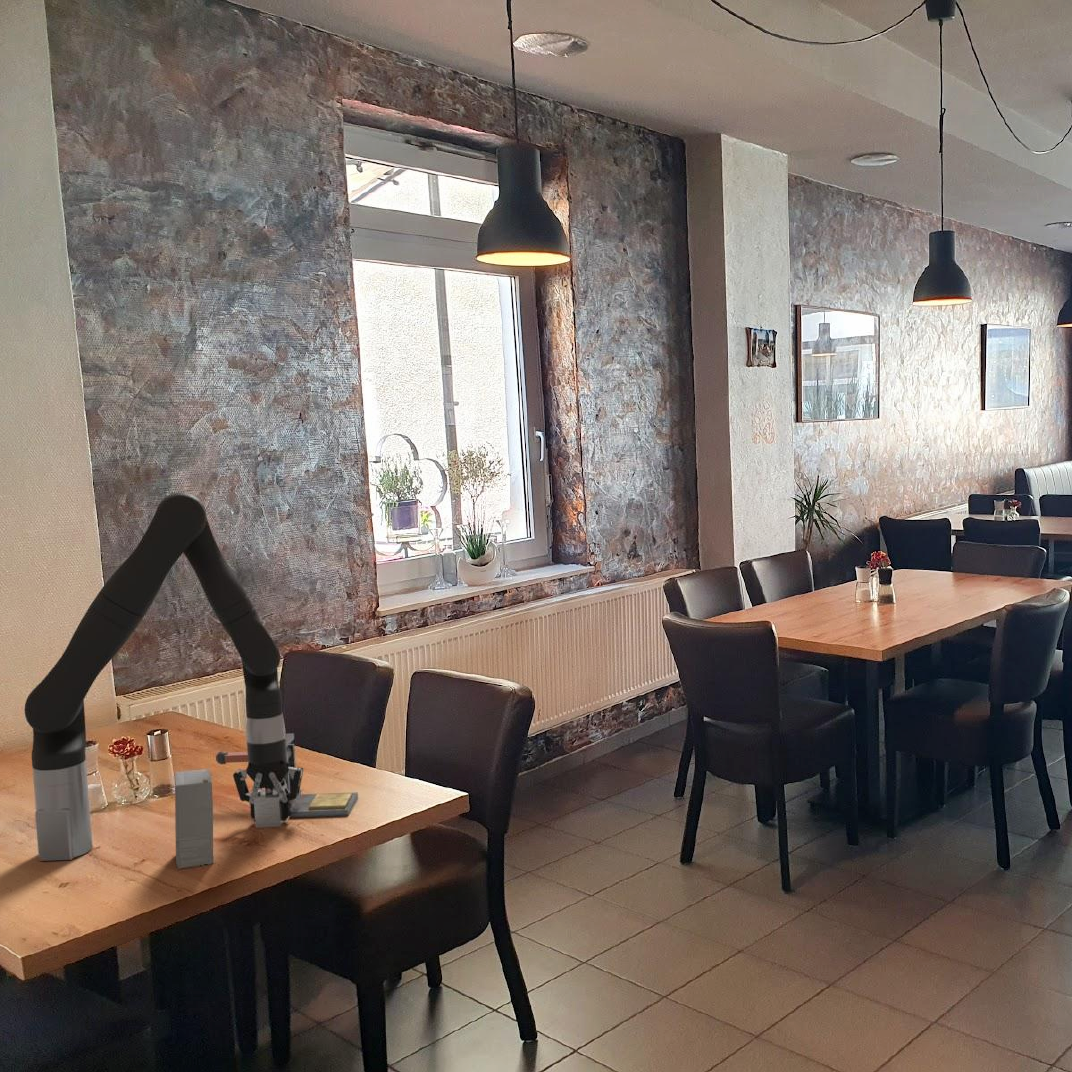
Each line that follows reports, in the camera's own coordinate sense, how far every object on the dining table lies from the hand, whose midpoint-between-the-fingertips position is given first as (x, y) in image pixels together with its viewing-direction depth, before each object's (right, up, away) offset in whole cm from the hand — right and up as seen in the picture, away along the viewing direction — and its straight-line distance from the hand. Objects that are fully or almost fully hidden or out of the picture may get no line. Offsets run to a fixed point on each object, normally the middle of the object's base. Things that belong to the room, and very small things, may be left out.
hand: (271, 819), depth 210 cm
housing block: (0, -1, 0) cm, 1 cm away
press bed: (+6, 0, +10) cm, 12 cm away
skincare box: (-9, -3, -18) cm, 20 cm away
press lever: (-7, +9, +12) cm, 17 cm away
